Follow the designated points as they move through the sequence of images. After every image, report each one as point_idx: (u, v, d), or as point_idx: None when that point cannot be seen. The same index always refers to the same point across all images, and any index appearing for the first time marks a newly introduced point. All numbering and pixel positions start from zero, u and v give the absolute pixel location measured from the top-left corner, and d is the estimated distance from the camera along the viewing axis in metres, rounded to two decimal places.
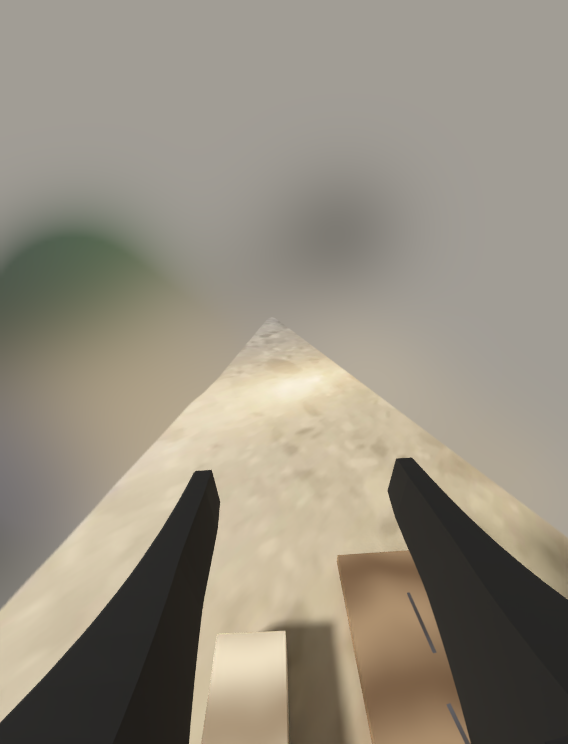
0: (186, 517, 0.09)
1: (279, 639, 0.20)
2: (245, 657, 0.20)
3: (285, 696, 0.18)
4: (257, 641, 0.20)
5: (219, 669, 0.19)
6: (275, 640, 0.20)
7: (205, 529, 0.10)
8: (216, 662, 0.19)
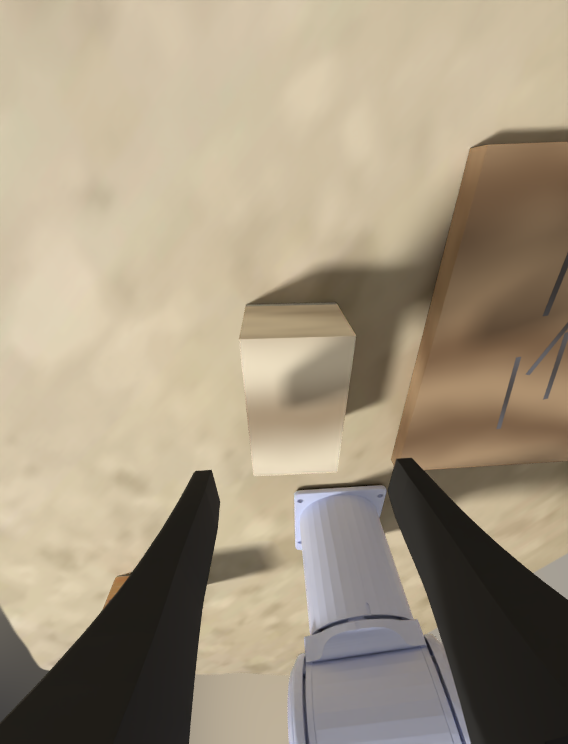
0: (186, 517, 0.09)
1: (345, 346, 0.12)
2: (291, 365, 0.13)
3: (346, 395, 0.14)
4: (309, 348, 0.12)
5: (254, 376, 0.13)
6: (338, 347, 0.12)
7: (205, 529, 0.10)
8: (247, 369, 0.13)
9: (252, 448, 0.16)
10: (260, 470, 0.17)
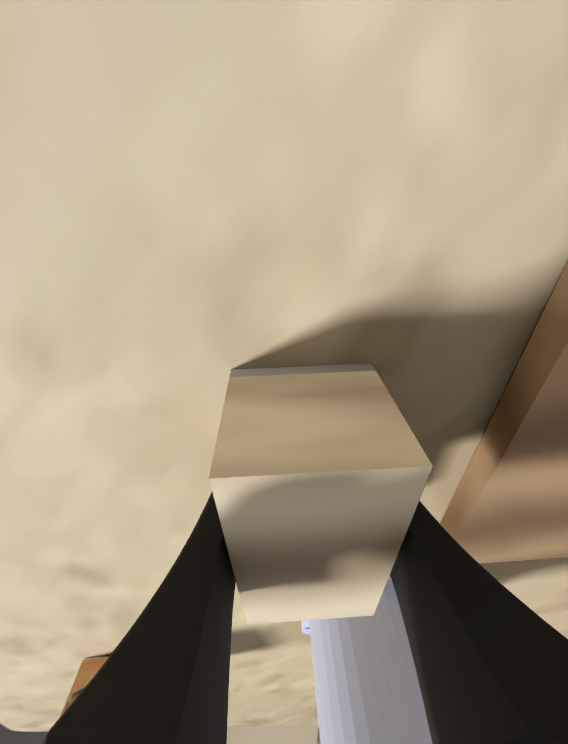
0: (218, 515, 0.09)
1: (409, 480, 0.07)
2: (307, 508, 0.07)
3: (400, 540, 0.08)
4: (341, 485, 0.07)
5: (241, 524, 0.07)
6: (396, 482, 0.07)
7: None
8: (229, 517, 0.07)
9: (243, 599, 0.10)
10: (257, 619, 0.11)
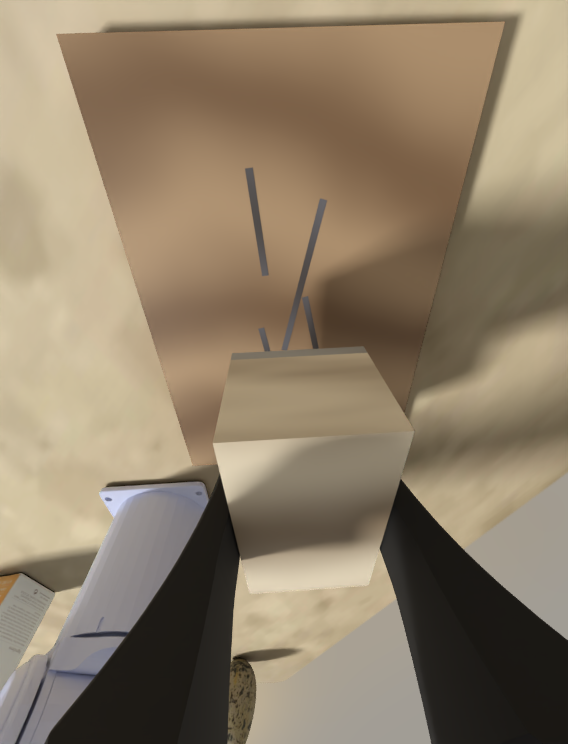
0: (219, 515, 0.09)
1: (394, 445, 0.07)
2: (303, 473, 0.08)
3: (389, 506, 0.09)
4: (333, 450, 0.07)
5: (242, 489, 0.08)
6: (382, 447, 0.07)
7: None
8: (231, 482, 0.08)
9: (246, 568, 0.11)
10: (259, 588, 0.12)
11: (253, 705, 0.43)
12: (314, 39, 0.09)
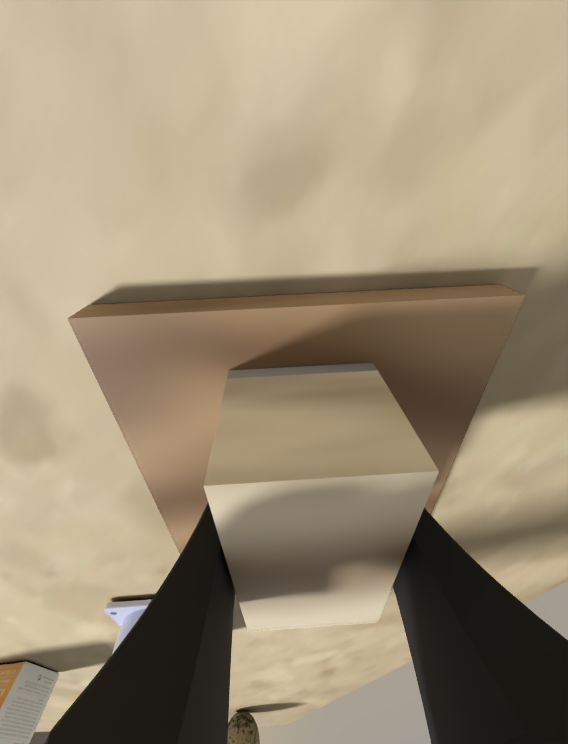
0: None
1: (414, 486, 0.06)
2: (308, 515, 0.07)
3: (405, 547, 0.08)
4: (343, 492, 0.06)
5: (238, 532, 0.07)
6: (400, 488, 0.06)
7: None
8: (225, 525, 0.07)
9: (243, 608, 0.10)
10: (258, 626, 0.11)
11: None
12: (330, 313, 0.09)
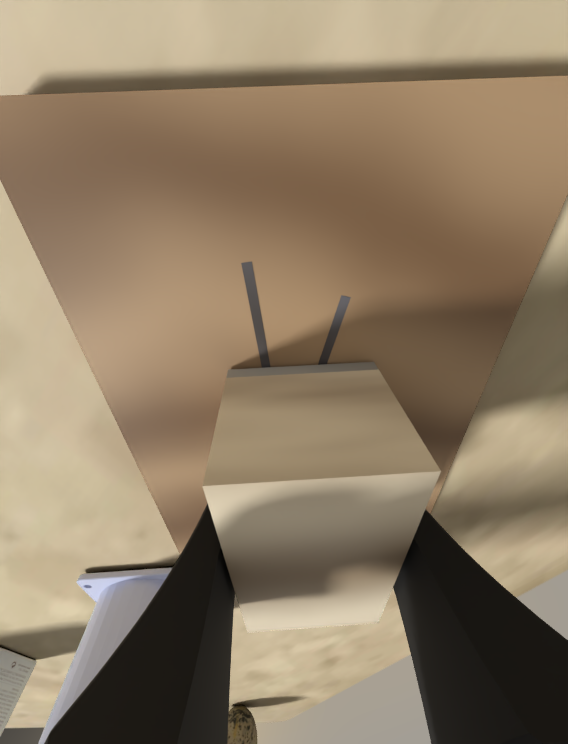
0: None
1: (415, 486, 0.06)
2: (308, 516, 0.07)
3: (406, 548, 0.08)
4: (344, 492, 0.06)
5: (238, 533, 0.07)
6: (402, 489, 0.06)
7: None
8: (225, 525, 0.07)
9: (243, 608, 0.09)
10: (258, 627, 0.10)
11: None
12: (341, 100, 0.06)
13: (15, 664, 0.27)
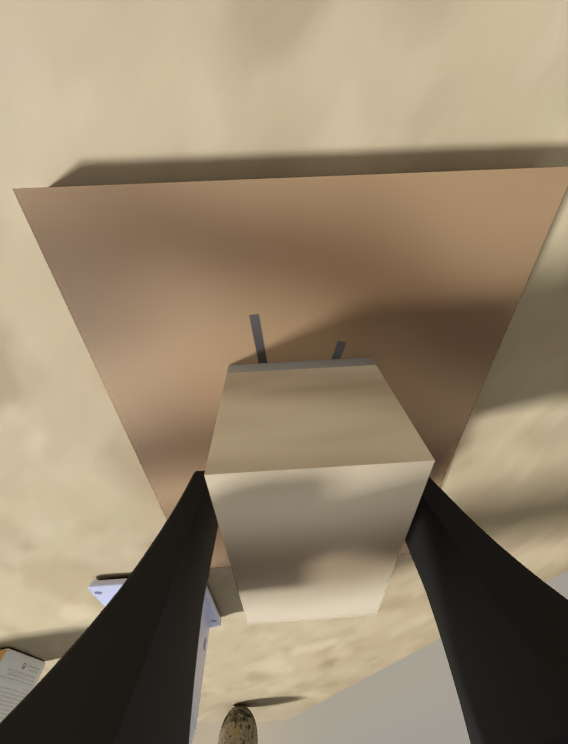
0: (186, 517, 0.09)
1: (410, 475, 0.06)
2: (306, 505, 0.07)
3: (402, 538, 0.08)
4: (341, 481, 0.06)
5: (238, 522, 0.07)
6: (397, 478, 0.06)
7: (205, 529, 0.10)
8: (226, 515, 0.07)
9: (243, 599, 0.10)
10: (258, 619, 0.11)
11: None
12: (337, 188, 0.07)
13: (25, 665, 0.28)
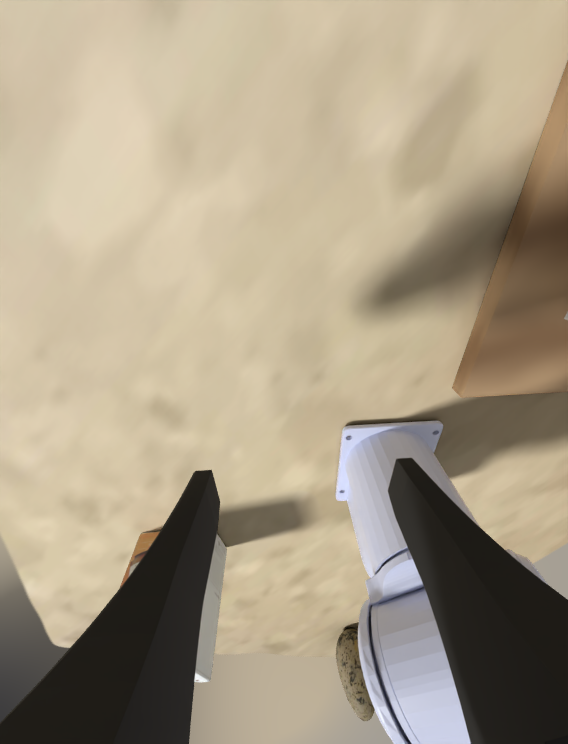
0: (186, 517, 0.09)
1: None
2: None
3: None
4: None
5: None
6: None
7: (205, 529, 0.10)
8: None
9: None
10: None
11: None
12: None
13: (219, 543, 0.30)
